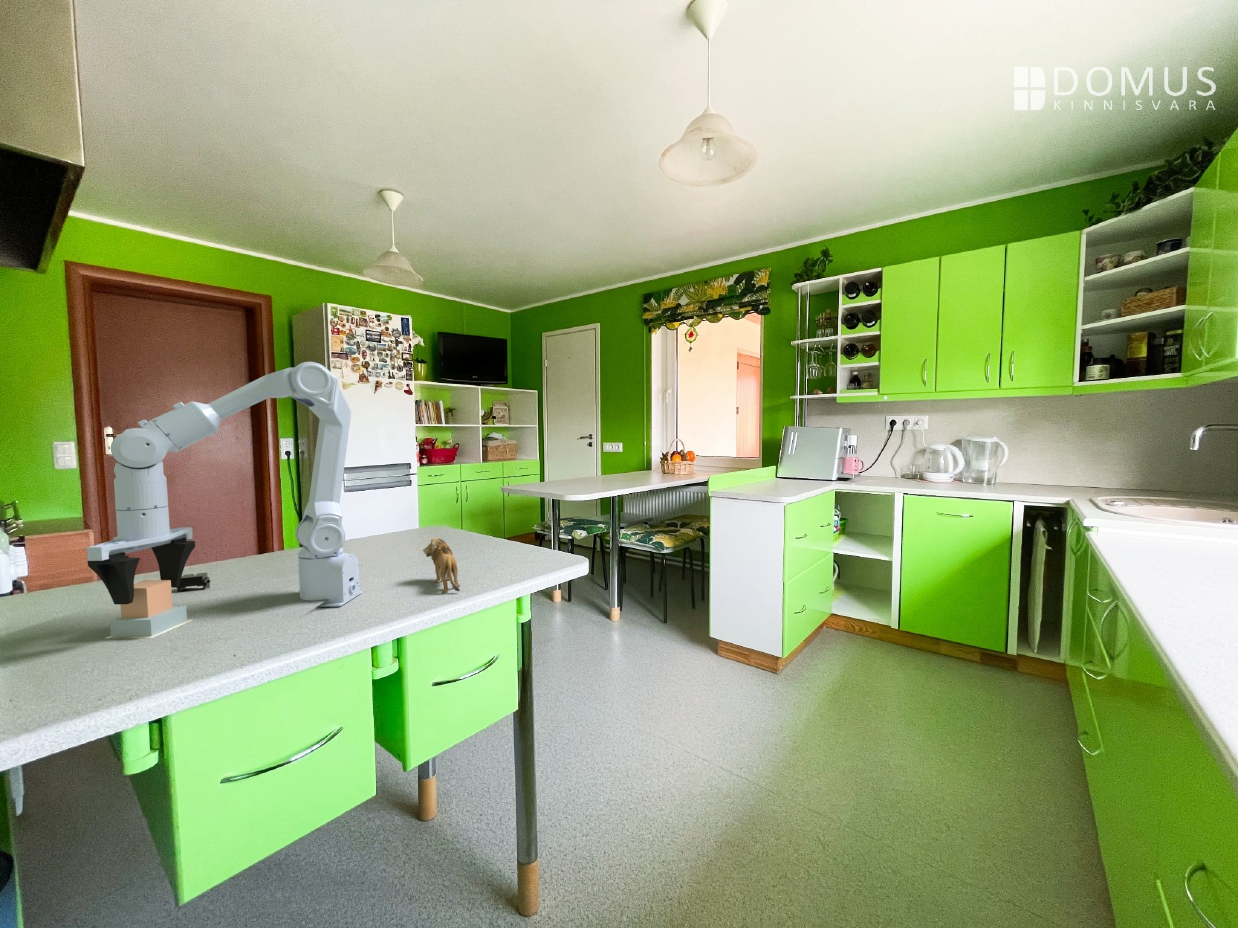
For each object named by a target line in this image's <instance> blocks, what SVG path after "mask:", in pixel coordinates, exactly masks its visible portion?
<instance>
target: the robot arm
mask: <svg viewBox="0 0 1238 928" xmlns="http://www.w3.org/2000/svg"><path fill="white" fill-rule="evenodd" d="M288 397H290V398H292V399H294V400H295V401H297V402H299V403H301V404H303V405H305V406H306V407H307V408H308V409H309V410H311V412H312V413H313V414H314V415H315V416H316V417H317V418H318V419H319V422H318V430H317V438H316V444H315V445H316V446H315V451H314V452H315V453H314V460H313V468H312V475H311V480H310V481H311V484H310V488H309V496H308V497H309V498H308V501H307V504H306V505H305V509H304V513H303V517H302V520H301V521H300V522H299V524H298V525H297V527H296V528H295V539H296V540H297V542H298V543H299V544H300V545H301V546H302V547H301V550H299V552H298V553H297V557H298V559H297V560H298V562H297V563H298V580H299V581H298V584H299V586H298V587H299V598H300V599H301V600H303V601H320V600H321V601H322V600H325V601H324V602H322V603H320V604H318V605H317V606H316V607H322V608H323V607H328V608H329V607H341V606H344V605H345V604H346V603H348V602H349V601H351V600H353V599H354V598H356V597H357V596H359V595H361V594H363V590H362V589H361V582H360V581H361V580H360V579H361V578H360V576H361V575H360V561H359V558H358V557H357V555H355V554H354V553H346V552H344V547H343V546H344V543H345V541H346V531H345V530H344V527H343V524H342V523H343V522H342V521H343V513H342V509H341V505H340V501H341V496H342V495H341V494H342V487H343V479H344V471H345V463H346V456H347V448H348V442H349V434H350V433H349V432H350V424H351V419H352V411H351V408H350V406H349V403H348V402H347V400H346V397H345V396H344V394H343V391H342V389H341V388H340V383H339V380H338V378H337V377H336V376H335V375H334V373H332V372H331V371H330V370H329V369H328V368H327V367H326V366H324V365H322V364H321V363H318V362H315V361H305V362H301V363H299V364H297V365H296V366H295V367H294V366H293V367H291V366H290V367H287V368H285V369H284V368H283V369H281V370H278V371H274V372H271V373H268V374H265V375H263V376H261V377H259V378H257V379H255V380H253V381H251V382H248V383H247V384H245V385H243V386H241V387H239V388H237V389H235V390H233V391H231V392H229V393H227V394H225V395H223V396H221V397H219V398H216V399H215V400H213V401H211V402H209V403H202V402H197V401H189V402H187V403H185V404H184V403H183V402H182V401H180V402H177V403H175V404H173V405H172V408H173V409H171V410H170V411H167V412H166V413H163V414H161V415H159V416H157V417H155V418H153V419H149V420H148V421H147V420H146V419H142V420H139V421H138V422H137V425H139V426H140V427H141V428H140V427H135V428H134V427H131V428H127V429H125V430H124V431H123V432H121V433H119V434H118V435H116V436H115V437H114V439H113V440H112V441H111V444H110V452H111V455H112V457H113V459H115V460H116V461H117V462H115V463H114V465H115V466H114V467H113V473H114V475H115V478H114V480H113V484H114V485H113V486H114V487H113V488H114V500H115V501H114V502H115V505H114V506H115V514H116V515H115V516H116V517H115V519H116V532H117V536H114V537H113V539H111V540H108V541H106V542H103V543H98V544H96V545H92V546H87V547H86V553H87V566H88V568H90V569H91V570H92V571H93V572H94V573H95V574H96V575H97V576H98V577H99V579H100V580H101V582H102V583H103V584H104V586H105V587H106V589H107V591H108V593H109V595H110V598H111V600H112V602H113V604H114V605H120V604H130V603H132V602H133V598H134V584H135V577H136V572H137V567H138V565H139V562H140V560H141V558H140V557H129V555H126V554H130V553H135V552H139V551H143V550H147V549H150V548H151V550H152V552H153V554H154V557H155V559H156V561H157V565H158V569H159V577H160V579H159V580H171V589H172V588H174V589H177V588H176V587H179V584H180V581H181V577H182V576H183V574H184V569H185V567H186V564H187V561H188V560H189V557H190V555H191V553H192V552H193V551H194V549H195V547H196V541H195V540H191V539H193V538H194V537H193V535H194V534H193V533H194V532H193V527H191V526H190V527H189V526H188V527H187V526H185V527H184V526H183V527H181V526H180V527H176V528H171V526H170V513H169V509H170V508H169V499H168V482H167V481H168V480H167V477H166V475H165V473H164V472H165V471H164V462H163V460H164V459H165V457H166V456H167V453H168V452H169V453H170V452H172V453H173V452H174V453H179V452H181V451H182V450H184V449H187V448H188V447H190V446H192V445H194V444H196V443H198V442H200V441H202V440H204V439H206V438H208V437H209V436H211V435H214V434H216V433H218V432H219V430H220V424H221V421H222V420H224V419H226V418H228V417H230V416H233V415H234V414H237V413H239V412H241V411H244V410H245V409H247V408H250V407H251V406H253V405H256V404H259V403H260V402H263V401H264V400H267V399H285V398H288Z"/></svg>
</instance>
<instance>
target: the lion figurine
mask: <svg viewBox="0 0 1238 928" xmlns="http://www.w3.org/2000/svg"><path fill="white" fill-rule="evenodd" d="M422 552H423V553H424V555H425V557H426V558H429V557H431V560H432V562H433V565H434V568H435V571H434V572H435V575H436V579H435V580H433V582H435V583H434V584H437V583H441V582H442V585H443V589H442V590H441V591H442V593H443V594H445V593H448V592H449V587H448V585H449V584H448V581H449V582H450V584H451V586H452V587H453V589H454V591H455V592H460V591H461V590H460V588H459V587H461V583H459V580H458V572H459V571H458V562H457V560H456V558H455V557H454V556H453V551H452V549H451V548H450V546H449V544H448V543H447V542H446V541H445V540H443V539H441V538H439V537H435V538H432V539H431V540H430V543H429V544H428V545H427V546H426V547H424V548H423V549H422Z"/></svg>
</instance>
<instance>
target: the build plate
mask: <svg viewBox="0 0 1238 928" xmlns="http://www.w3.org/2000/svg"><path fill="white" fill-rule="evenodd" d="M188 587H197V588H198V587H202V590H203V591H204V590H207V589H211V580H210V576H208V572H200V573H199V572H198V573H196V574H195V573H189V574H188V573H187V574H182V577H181V581H180V584H179V587H176V588H175V589H177V590H176V591H177V593H178V594H179V593H181V592H182V591H184V589H185V588H188Z"/></svg>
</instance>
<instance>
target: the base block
mask: <svg viewBox="0 0 1238 928" xmlns="http://www.w3.org/2000/svg"><path fill="white" fill-rule="evenodd" d="M187 620H188V613H187V605H172V608H171V609H168V610H166V611H163V612H161V613H158V614H156V615H153V616H151V617H142V618H121V615H120V616H118V617H114V618H112V619H110V620H109V626H110V627H109V629H110V630H109V631H110V636H111V637H136V636H154V635H156V634H158V633H160V632H163V631H165V630H167V629H170V628H172V627H174V626H176V625H179V624H181V623H183V622H186V621H187Z"/></svg>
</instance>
